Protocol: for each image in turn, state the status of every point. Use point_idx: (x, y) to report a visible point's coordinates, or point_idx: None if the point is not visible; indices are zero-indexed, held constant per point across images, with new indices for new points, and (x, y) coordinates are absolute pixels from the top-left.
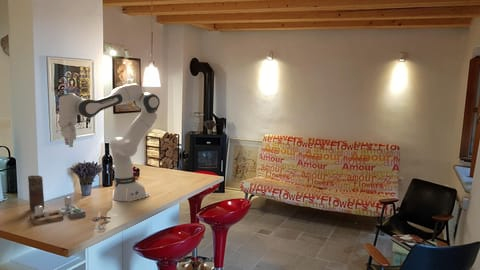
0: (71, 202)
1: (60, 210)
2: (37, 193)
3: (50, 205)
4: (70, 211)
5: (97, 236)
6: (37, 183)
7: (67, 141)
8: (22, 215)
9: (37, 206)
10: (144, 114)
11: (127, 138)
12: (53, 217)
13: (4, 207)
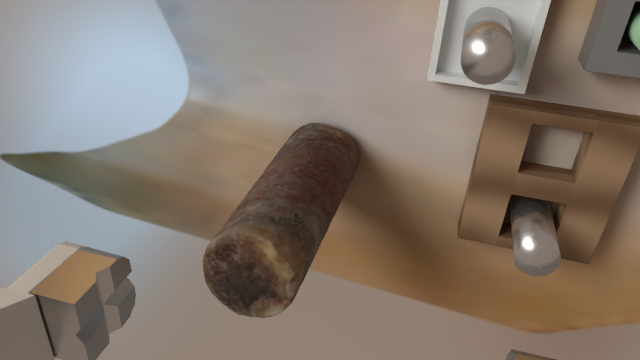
0: (506, 27)
1: (485, 87)
2: (332, 215)
3: (288, 73)
4: (619, 69)
5: None
6: (310, 254)
7: (39, 321)
8: (372, 227)
9: (529, 262)
10: None
11: None
12: (618, 177)
13: (199, 237)
